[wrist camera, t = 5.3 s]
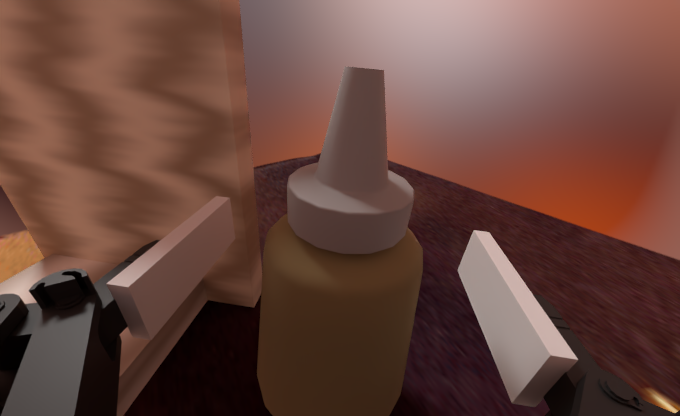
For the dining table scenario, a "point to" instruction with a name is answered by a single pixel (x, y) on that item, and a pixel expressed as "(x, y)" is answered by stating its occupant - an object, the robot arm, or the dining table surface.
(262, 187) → the dining table surface
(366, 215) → the squeeze bottle
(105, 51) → the wooden display stand
